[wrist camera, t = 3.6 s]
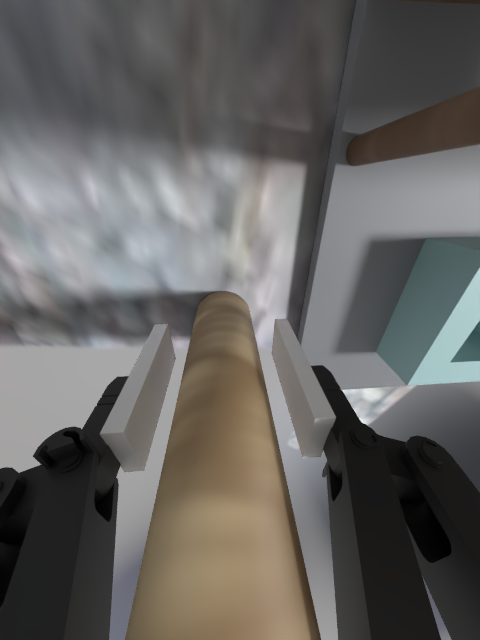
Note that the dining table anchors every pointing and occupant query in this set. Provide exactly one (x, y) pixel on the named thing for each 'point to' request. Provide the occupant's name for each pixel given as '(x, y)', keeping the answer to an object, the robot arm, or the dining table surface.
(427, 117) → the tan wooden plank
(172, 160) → the dining table surface
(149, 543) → the oak peg
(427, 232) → the socket board
